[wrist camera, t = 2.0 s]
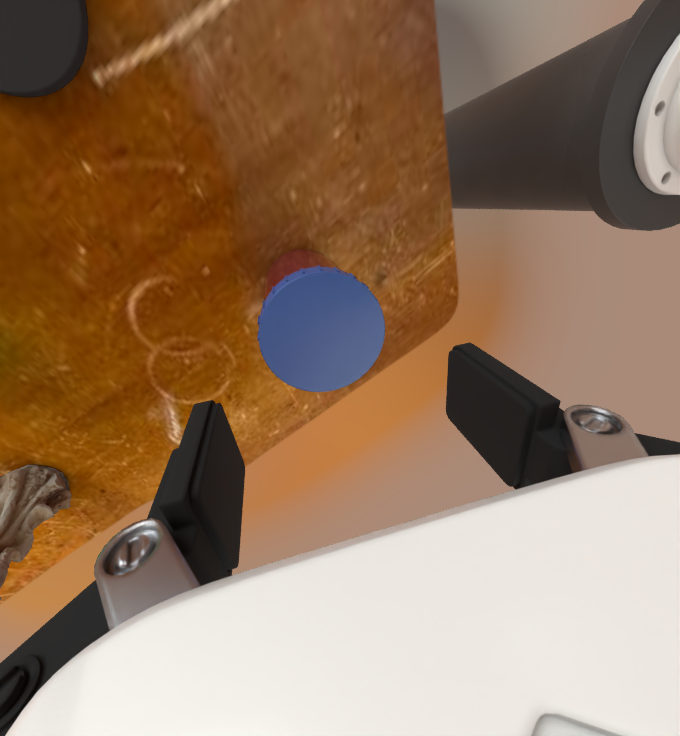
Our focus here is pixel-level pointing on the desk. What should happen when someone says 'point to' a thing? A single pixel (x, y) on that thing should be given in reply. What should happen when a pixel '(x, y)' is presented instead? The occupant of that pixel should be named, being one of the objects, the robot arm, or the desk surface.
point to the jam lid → (320, 329)
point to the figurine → (27, 508)
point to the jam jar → (293, 266)
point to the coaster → (41, 45)
